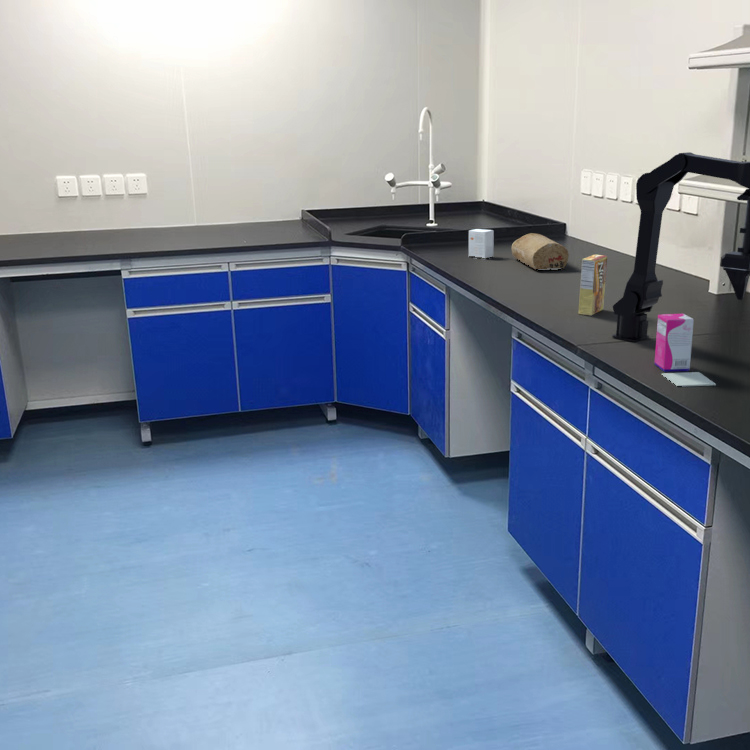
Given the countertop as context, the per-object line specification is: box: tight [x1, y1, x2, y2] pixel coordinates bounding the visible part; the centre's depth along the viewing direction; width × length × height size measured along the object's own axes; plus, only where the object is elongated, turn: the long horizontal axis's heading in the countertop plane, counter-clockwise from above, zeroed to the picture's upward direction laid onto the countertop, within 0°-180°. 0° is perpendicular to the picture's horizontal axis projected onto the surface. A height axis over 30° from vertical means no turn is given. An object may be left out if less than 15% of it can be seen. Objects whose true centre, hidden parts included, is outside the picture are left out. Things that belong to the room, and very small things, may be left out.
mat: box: [661, 371, 717, 387], centre depth 170 cm, size 8×8×1 cm
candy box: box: [578, 254, 608, 317], centre depth 227 cm, size 9×4×15 cm, turn 145°
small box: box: [468, 228, 495, 258], centre depth 315 cm, size 8×6×10 cm
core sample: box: [511, 232, 570, 270], centre depth 298 cm, size 14×26×10 cm, turn 8°
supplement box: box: [654, 313, 695, 373], centre depth 177 cm, size 6×6×12 cm
